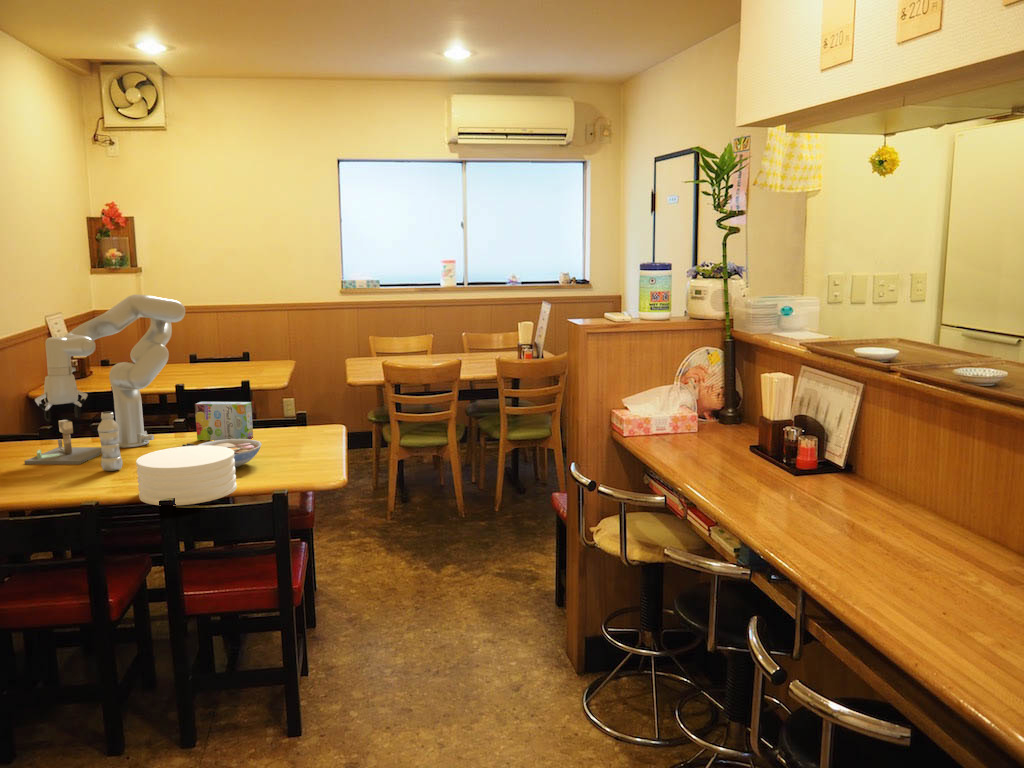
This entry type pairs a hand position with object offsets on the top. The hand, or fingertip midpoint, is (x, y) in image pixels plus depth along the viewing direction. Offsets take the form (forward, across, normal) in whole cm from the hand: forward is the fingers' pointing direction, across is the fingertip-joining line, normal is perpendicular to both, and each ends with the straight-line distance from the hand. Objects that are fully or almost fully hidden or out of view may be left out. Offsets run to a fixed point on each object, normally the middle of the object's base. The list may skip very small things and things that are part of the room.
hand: (63, 419), depth 301 cm
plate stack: (+14, -9, +75) cm, 77 cm away
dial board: (+14, -1, 0) cm, 14 cm away
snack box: (+13, -52, +18) cm, 57 cm away
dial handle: (+12, -1, -3) cm, 13 cm away
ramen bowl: (+14, -32, +57) cm, 67 cm away
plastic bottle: (+14, -4, +31) cm, 35 cm away
